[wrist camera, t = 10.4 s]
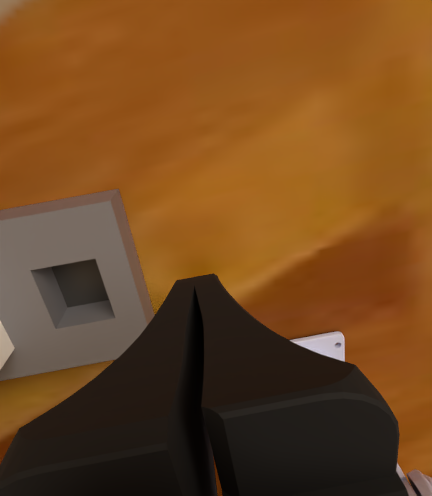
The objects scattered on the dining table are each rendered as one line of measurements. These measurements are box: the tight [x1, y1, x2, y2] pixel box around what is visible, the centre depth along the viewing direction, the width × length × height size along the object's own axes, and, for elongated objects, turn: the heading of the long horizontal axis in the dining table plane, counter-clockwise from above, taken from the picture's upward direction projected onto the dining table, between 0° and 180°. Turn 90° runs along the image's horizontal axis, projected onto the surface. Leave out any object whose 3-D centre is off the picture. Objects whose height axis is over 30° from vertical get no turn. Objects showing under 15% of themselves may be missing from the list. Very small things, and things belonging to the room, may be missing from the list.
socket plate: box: [0, 189, 155, 381], centre depth 21 cm, size 10×14×2 cm
